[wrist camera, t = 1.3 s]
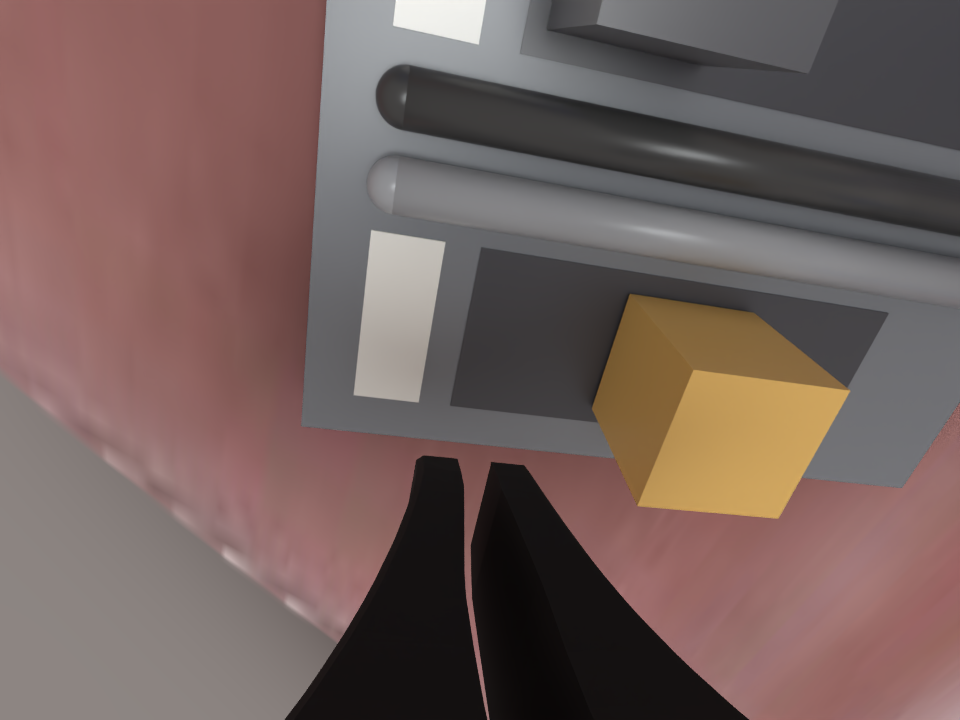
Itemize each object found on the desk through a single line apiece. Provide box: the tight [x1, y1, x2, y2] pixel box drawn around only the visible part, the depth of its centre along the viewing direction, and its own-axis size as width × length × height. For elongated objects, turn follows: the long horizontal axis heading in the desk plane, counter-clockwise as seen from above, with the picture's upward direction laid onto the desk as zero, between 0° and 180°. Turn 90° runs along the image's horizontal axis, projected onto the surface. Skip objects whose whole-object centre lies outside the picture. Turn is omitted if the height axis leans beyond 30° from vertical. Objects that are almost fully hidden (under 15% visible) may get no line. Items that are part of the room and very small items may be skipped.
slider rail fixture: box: [301, 0, 960, 488], centre depth 15 cm, size 22×18×6 cm
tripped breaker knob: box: [592, 294, 850, 519], centre depth 16 cm, size 4×4×4 cm
